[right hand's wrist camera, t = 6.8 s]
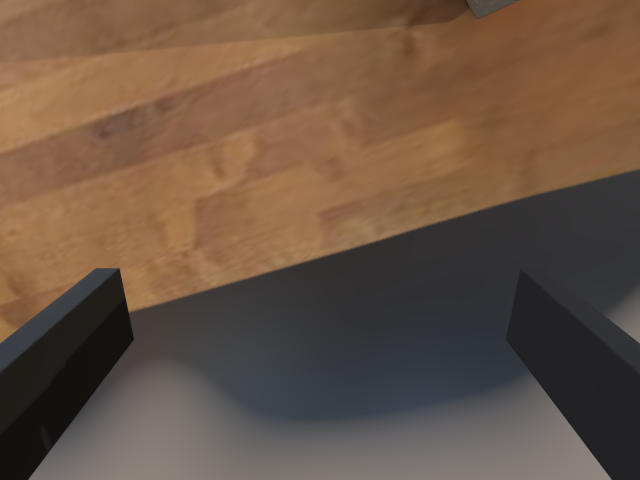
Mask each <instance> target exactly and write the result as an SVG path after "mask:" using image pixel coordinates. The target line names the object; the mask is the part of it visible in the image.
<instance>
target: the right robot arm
mask: <svg viewBox="0 0 640 480" xmlns="http://www.w3.org/2000/svg"><path fill="white" fill-rule="evenodd" d="M133 340H134V337H133V333H132V328H131V323H130V318H129V313H128V308H127V303H126V298H125V293H124V288H123V283H122V278H121V273H120V269H119V268H96V269H95V270H93V271H92V272H91V273H90V274H88V275H87V276H86V277H85V278H83V279H82V280H81V281H79V282H78V283H77V284H76V285H74V286H73V287H72V288H71V289H69V290H68V291H67V292H65V293H64V294H63V295H62V296H60V297H59V298H58V299H56V300H55V301H54V302H53V303H51V304H50V305H49V306H48V307H46V308H45V309H44V310H42V311H41V312H40V313H39V314H37V315H36V316H35V317H34V318H32V319H31V320H30V321H28V322H27V323H26V324H25V325H23V326H22V327H21V328H20V329H18V330H17V331H16V332H14V333H13V334H12V335H11V336H9V337H8V338H7V339H5V340H4V341H3V342H2V343H0V480H28V479H29V478H30V477H31V475H32V474H33V472H34V471H35V470H36V469H37V467H38V466H39V465H40V463H41V462H42V461H43V459H44V458H45V457H46V455H47V454H48V453H49V451H50V450H51V449H52V447H53V446H54V445H55V443H56V442H57V441H58V439H59V438H60V437H61V435H62V434H63V433H64V431H65V430H66V429H67V427H68V426H69V425H70V423H71V422H72V421H73V420H74V418H75V417H76V416H77V414H78V413H79V412H80V410H81V409H82V408H83V406H84V405H85V404H86V402H87V401H88V400H89V398H90V397H91V396H92V394H93V393H94V392H95V390H96V389H97V388H98V386H99V385H100V384H101V382H102V381H103V380H104V378H105V377H106V376H107V374H108V373H109V372H110V370H111V369H112V368H113V366H114V365H115V364H116V363H117V361H118V360H119V359H120V357H121V356H122V355H123V353H124V352H125V351H126V349H127V348H128V347H129V345H130V344H131V343H132V341H133ZM506 340H507V341H508V343H509V344H510V345H511V347H512V348H513V349H514V351H515V352H516V353H517V355H518V356H519V357H520V359H521V360H522V361H523V362H524V364H525V365H526V366H527V368H528V369H529V370H530V372H531V373H532V374H533V376H534V377H535V378H536V380H537V381H538V382H539V384H540V385H541V386H542V388H543V389H544V390H545V392H546V393H547V394H548V396H549V397H550V398H551V400H552V401H553V402H554V404H555V405H556V406H557V408H558V409H559V410H560V412H561V413H562V414H563V416H564V417H565V418H566V420H567V421H568V422H569V424H570V425H571V426H572V427H573V429H574V430H575V431H576V433H577V434H578V435H579V437H580V438H581V439H582V441H583V442H584V443H585V445H586V446H587V447H588V449H589V450H590V451H591V453H592V454H593V455H594V457H595V458H596V459H597V461H598V462H599V463H600V465H601V466H602V467H603V469H604V470H605V471H606V473H607V474H608V475H609V477H610V478H611V479H612V480H640V343H638V342H637V341H636V340H635V339H633V338H632V337H631V336H629V335H628V334H627V333H626V332H624V331H623V330H622V329H620V328H619V327H618V326H617V325H615V324H614V323H613V322H612V321H610V320H609V319H608V318H606V317H605V316H604V315H603V314H601V313H600V312H599V311H598V310H596V309H595V308H594V307H592V306H591V305H590V304H589V303H587V302H586V301H585V300H583V299H582V298H581V297H580V296H578V295H577V294H576V293H575V292H573V291H572V290H571V289H569V288H568V287H567V286H566V285H564V284H563V283H562V282H561V281H559V280H558V279H557V278H555V277H554V276H553V275H552V274H550V273H549V272H548V271H547V270H545V269H544V268H521V269H520V273H519V278H518V283H517V288H516V293H515V298H514V303H513V308H512V313H511V318H510V323H509V328H508V332H507V338H506Z"/></svg>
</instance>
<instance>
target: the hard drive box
mask: <svg viewBox="0 0 640 480" xmlns="http://www.w3.org/2000/svg"><path fill="white" fill-rule="evenodd" d="M466 1H467V3H468V5H469V7H470V8H471V10H472V12H473V13H474V15H475V16H476V18H478V19H479V18H481V17H483V16H486V15H488V14H490V13H493V12H495V11H497V10H500V9H502V8H504V7H506V6H508V5H510V4H513V3H515V2H517V1H519V0H466Z"/></svg>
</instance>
